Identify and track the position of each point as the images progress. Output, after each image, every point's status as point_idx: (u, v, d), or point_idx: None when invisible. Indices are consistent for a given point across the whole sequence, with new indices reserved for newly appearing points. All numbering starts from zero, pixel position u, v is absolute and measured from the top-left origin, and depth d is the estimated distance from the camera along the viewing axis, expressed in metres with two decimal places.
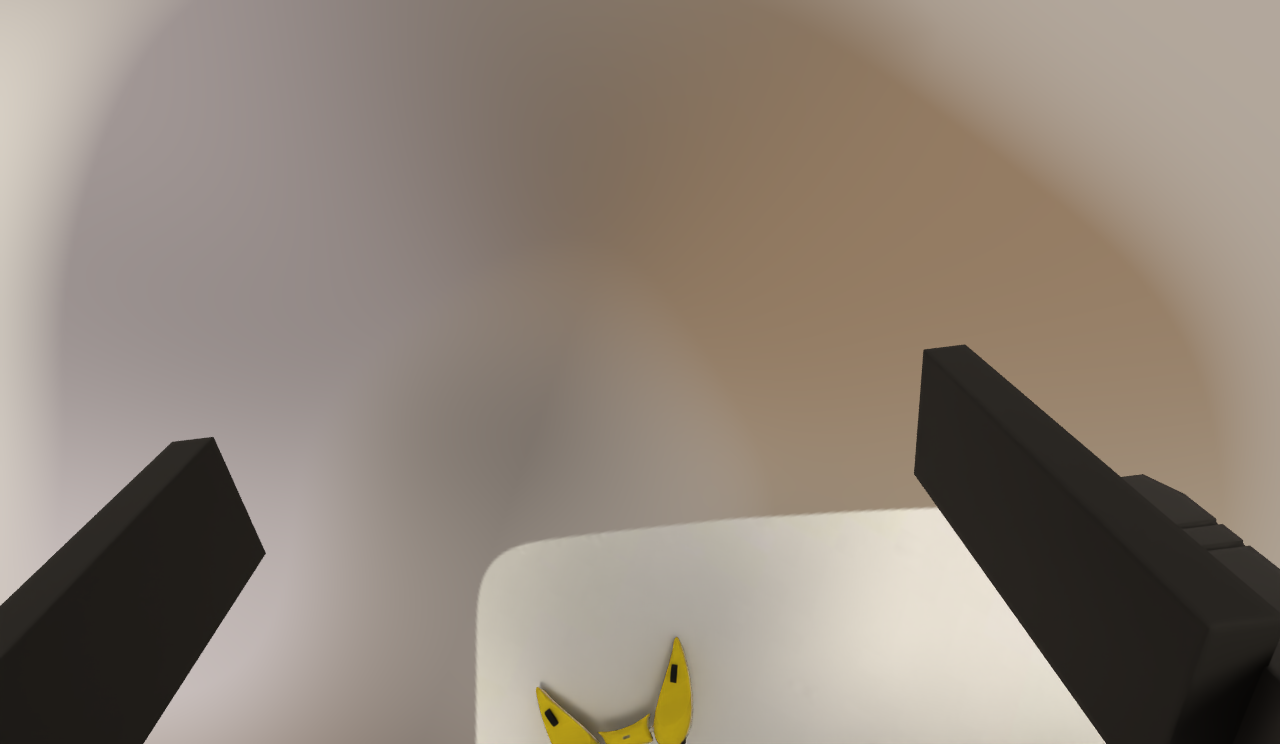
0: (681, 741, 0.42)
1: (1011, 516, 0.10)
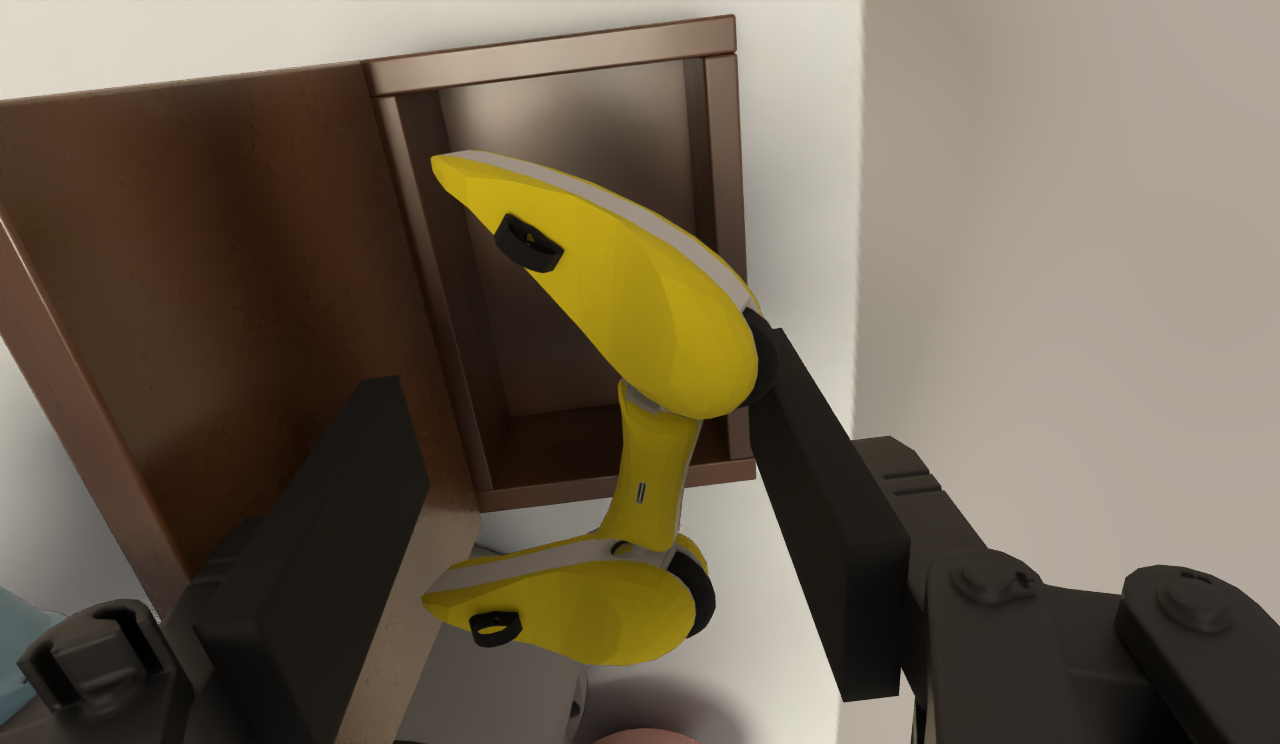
0: (751, 346, 0.11)
1: (783, 473, 0.12)
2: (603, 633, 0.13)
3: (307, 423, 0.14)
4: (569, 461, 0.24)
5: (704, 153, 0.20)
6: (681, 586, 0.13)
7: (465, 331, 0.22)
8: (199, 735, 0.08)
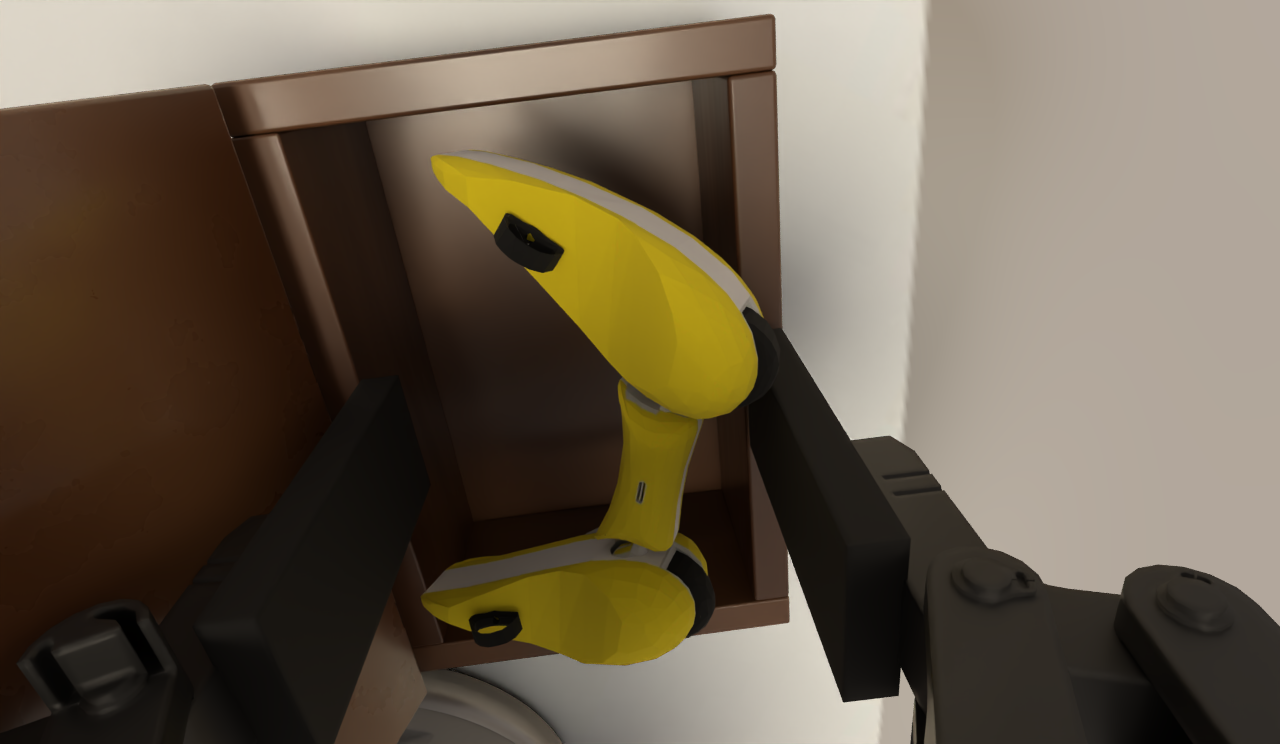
0: (751, 346, 0.11)
1: (784, 473, 0.12)
2: (603, 632, 0.13)
3: None
4: None
5: (725, 207, 0.14)
6: (681, 585, 0.13)
7: None
8: (199, 735, 0.08)
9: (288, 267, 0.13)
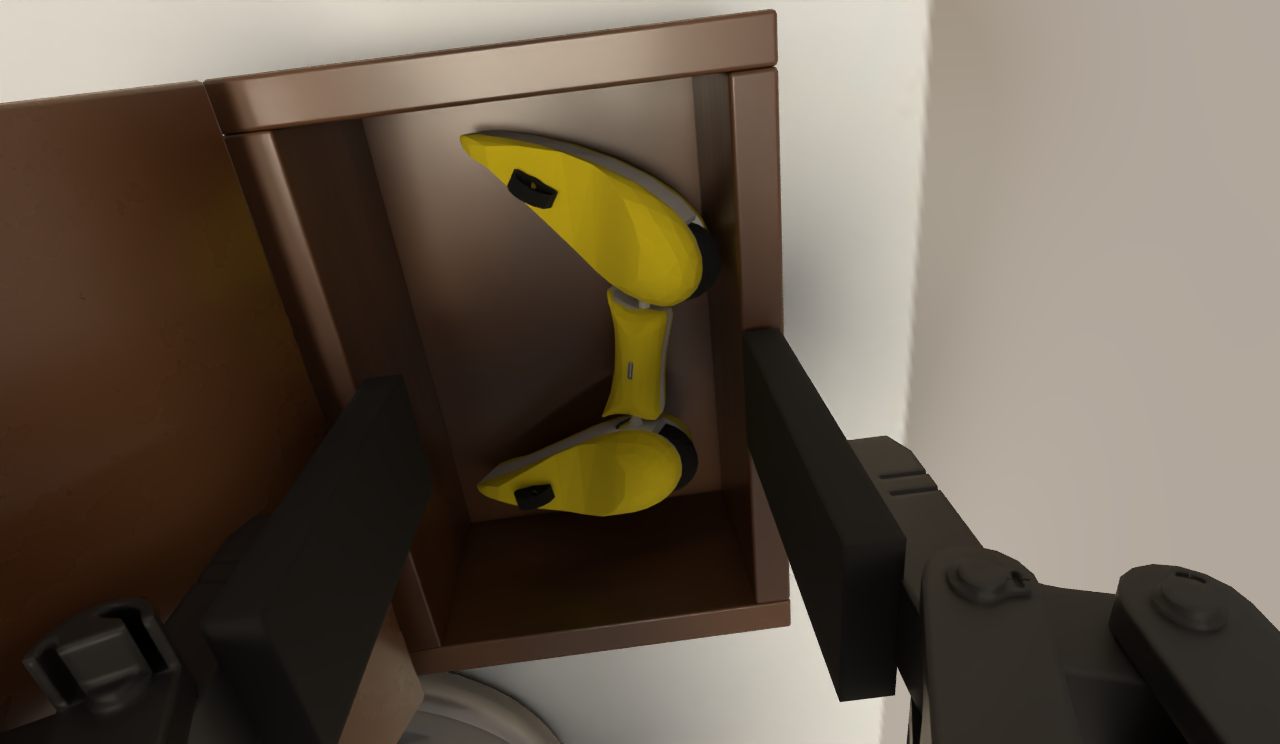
0: (695, 246, 0.15)
1: (781, 473, 0.12)
2: (613, 485, 0.17)
3: None
4: (544, 600, 0.19)
5: (725, 206, 0.14)
6: (668, 444, 0.17)
7: None
8: (203, 734, 0.08)
9: (282, 267, 0.13)
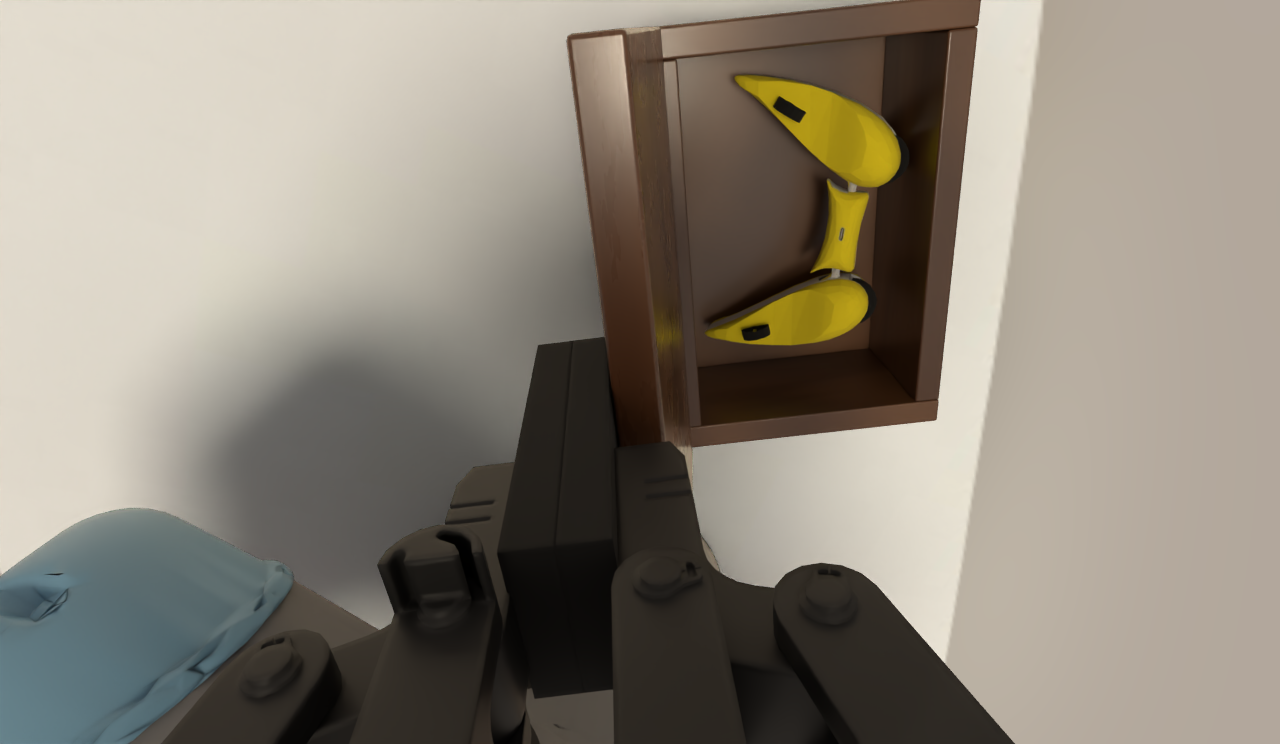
0: (898, 145, 0.23)
1: None
2: (822, 316, 0.26)
3: (670, 329, 0.16)
4: (763, 403, 0.27)
5: (925, 118, 0.22)
6: (861, 287, 0.26)
7: None
8: (503, 667, 0.08)
9: None
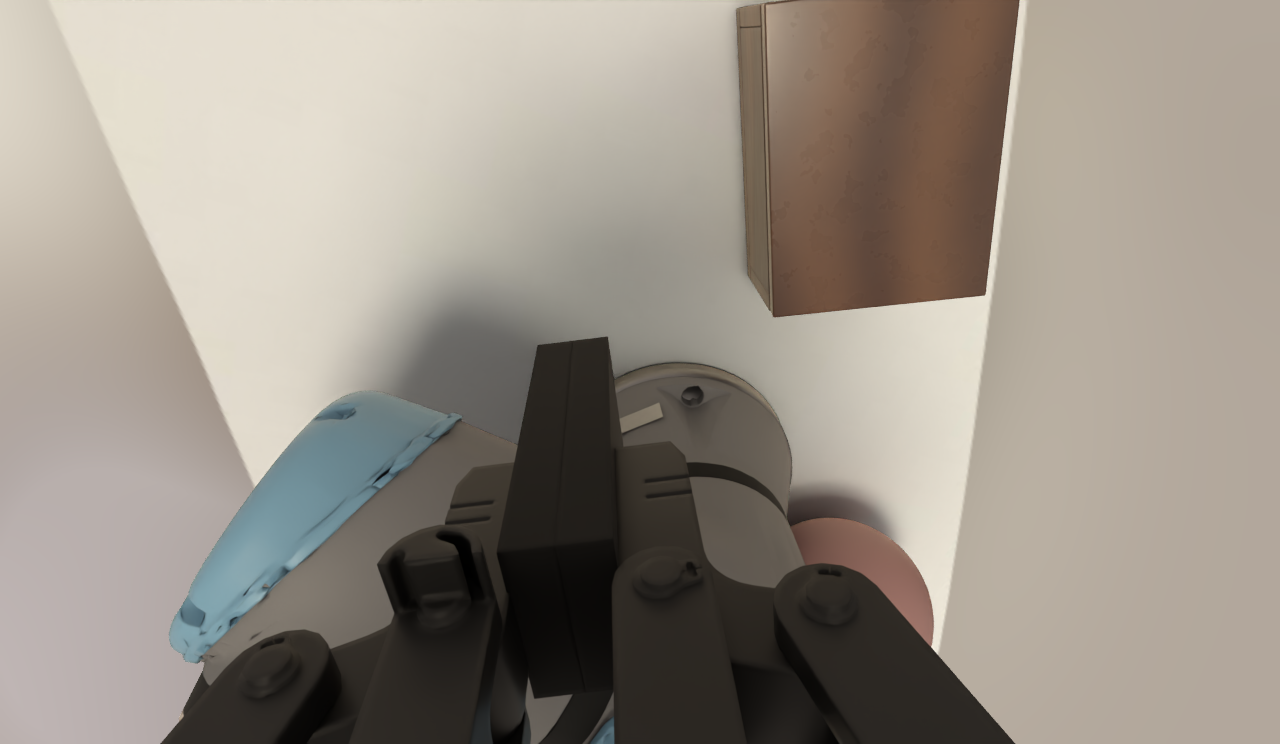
0: None
1: None
2: None
3: None
4: None
5: None
6: None
7: None
8: (503, 667, 0.08)
9: None
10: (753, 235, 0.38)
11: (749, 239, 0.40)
